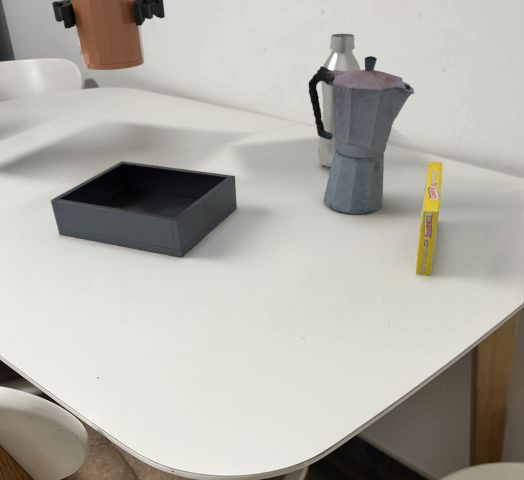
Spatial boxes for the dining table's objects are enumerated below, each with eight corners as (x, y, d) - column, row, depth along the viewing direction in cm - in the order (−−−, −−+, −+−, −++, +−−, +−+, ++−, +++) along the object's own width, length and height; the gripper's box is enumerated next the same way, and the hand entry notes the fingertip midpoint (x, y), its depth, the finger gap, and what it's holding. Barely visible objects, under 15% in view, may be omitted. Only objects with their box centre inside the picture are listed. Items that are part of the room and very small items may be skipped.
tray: (59, 234, 79) (50, 200, 76) (127, 192, 91) (121, 160, 88) (181, 257, 73) (176, 221, 70) (236, 208, 85) (235, 175, 82)
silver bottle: (347, 157, 102) (355, 30, 90) (360, 170, 97) (370, 37, 84) (312, 161, 101) (315, 33, 89) (323, 174, 96) (329, 40, 83)
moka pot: (388, 224, 79) (406, 66, 67) (290, 205, 85) (290, 57, 73) (410, 200, 86) (430, 52, 74) (317, 184, 92) (321, 45, 80)
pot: (71, 68, 88) (52, -25, 80) (107, 57, 94) (92, -30, 87) (122, 71, 84) (107, -25, 77) (155, 59, 91) (144, -30, 84)
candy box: (419, 219, 80) (428, 160, 75) (435, 220, 80) (445, 161, 75) (412, 274, 68) (422, 208, 63) (431, 276, 67) (442, 210, 62)
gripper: (186, 22, 102) (181, 42, 84) (62, 26, 101) (30, 48, 83) (182, -28, 98) (175, -18, 80) (51, -24, 97) (15, -12, 79)
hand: (101, 16), depth 82 cm, fingers closed on pot, 9 cm apart
